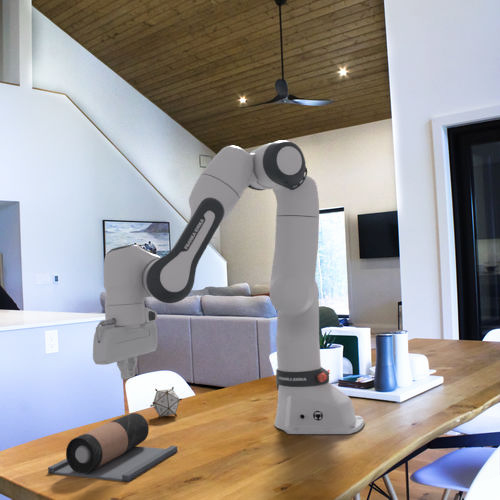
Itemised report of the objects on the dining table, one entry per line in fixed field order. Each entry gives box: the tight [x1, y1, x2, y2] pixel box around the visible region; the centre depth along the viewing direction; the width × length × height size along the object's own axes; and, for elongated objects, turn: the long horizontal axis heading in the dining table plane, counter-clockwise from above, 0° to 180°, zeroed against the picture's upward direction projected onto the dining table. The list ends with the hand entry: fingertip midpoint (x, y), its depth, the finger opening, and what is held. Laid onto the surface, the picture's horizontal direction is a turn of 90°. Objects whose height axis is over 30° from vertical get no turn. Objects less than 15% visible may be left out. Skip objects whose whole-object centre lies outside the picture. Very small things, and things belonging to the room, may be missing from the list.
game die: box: [149, 386, 183, 420], centre depth 163 cm, size 9×8×10 cm
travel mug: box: [65, 412, 150, 474], centre depth 127 cm, size 8×8×20 cm
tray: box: [47, 445, 178, 483], centre depth 126 cm, size 20×19×1 cm
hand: (128, 378), depth 130 cm, fingers closed
